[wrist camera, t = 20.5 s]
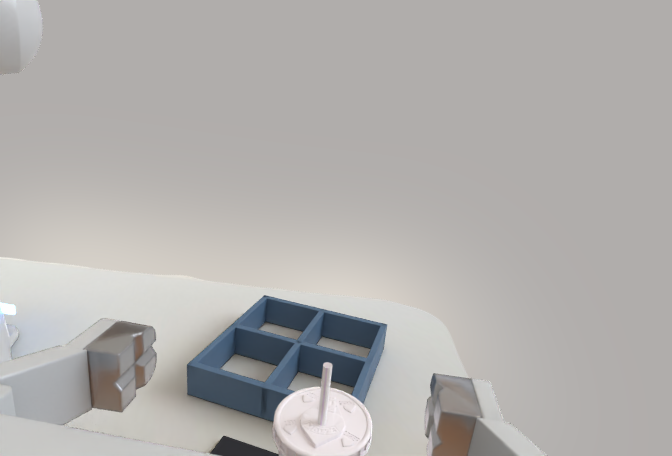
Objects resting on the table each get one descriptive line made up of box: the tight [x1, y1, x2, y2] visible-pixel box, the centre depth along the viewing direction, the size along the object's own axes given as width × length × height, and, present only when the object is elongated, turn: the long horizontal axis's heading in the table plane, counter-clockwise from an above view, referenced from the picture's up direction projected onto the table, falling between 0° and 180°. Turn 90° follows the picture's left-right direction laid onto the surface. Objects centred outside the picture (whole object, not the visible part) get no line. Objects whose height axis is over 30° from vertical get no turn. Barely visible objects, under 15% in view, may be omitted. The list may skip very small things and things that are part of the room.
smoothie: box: [272, 362, 372, 456], centre depth 28 cm, size 6×6×14 cm
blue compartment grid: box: [187, 295, 387, 422], centre depth 47 cm, size 17×17×4 cm
